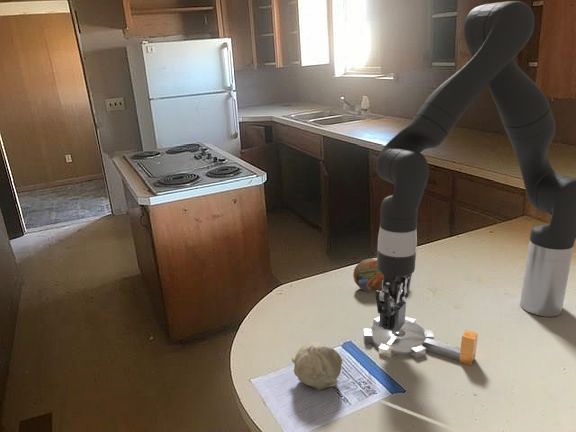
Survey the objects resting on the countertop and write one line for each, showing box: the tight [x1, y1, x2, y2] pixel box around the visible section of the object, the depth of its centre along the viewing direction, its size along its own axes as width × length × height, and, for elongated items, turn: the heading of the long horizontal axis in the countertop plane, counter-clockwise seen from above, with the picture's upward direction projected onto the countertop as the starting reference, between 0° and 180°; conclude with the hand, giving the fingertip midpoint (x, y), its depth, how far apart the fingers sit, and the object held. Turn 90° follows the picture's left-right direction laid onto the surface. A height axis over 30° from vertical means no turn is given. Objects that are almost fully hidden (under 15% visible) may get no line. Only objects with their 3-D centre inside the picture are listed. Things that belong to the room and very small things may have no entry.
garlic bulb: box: [291, 341, 343, 391], centre depth 93 cm, size 9×8×10 cm
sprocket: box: [363, 315, 435, 359], centre depth 107 cm, size 15×14×2 cm
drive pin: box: [424, 329, 479, 367], centre depth 100 cm, size 3×10×6 cm, turn 56°
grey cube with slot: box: [379, 297, 407, 332], centre depth 102 cm, size 4×4×5 cm
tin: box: [352, 257, 384, 292], centre depth 131 cm, size 15×3×8 cm, turn 105°
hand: (392, 323), depth 102 cm, fingers closed on grey cube with slot, 4 cm apart
